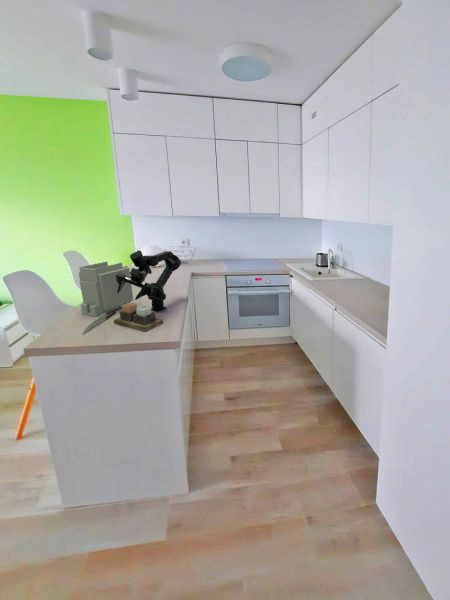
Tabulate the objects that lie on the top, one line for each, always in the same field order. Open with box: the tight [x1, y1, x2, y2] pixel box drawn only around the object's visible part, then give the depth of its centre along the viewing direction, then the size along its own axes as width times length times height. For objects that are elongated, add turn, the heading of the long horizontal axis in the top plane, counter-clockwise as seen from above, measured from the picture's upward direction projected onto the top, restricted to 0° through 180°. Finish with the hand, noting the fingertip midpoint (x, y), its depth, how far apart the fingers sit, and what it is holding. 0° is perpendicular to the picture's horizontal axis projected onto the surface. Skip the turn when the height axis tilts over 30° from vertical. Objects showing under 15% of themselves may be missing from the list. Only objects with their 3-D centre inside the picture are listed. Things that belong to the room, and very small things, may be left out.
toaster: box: [78, 261, 134, 318], centre depth 166 cm, size 17×27×26 cm, turn 153°
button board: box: [113, 310, 164, 333], centre depth 145 cm, size 12×22×6 cm, turn 59°
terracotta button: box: [121, 302, 138, 313], centre depth 146 cm, size 5×5×4 cm
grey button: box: [136, 305, 152, 317], centre depth 141 cm, size 5×5×4 cm
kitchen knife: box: [81, 310, 117, 336], centre depth 147 cm, size 4×1×30 cm
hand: (126, 296), depth 139 cm, fingers open, 9 cm apart
